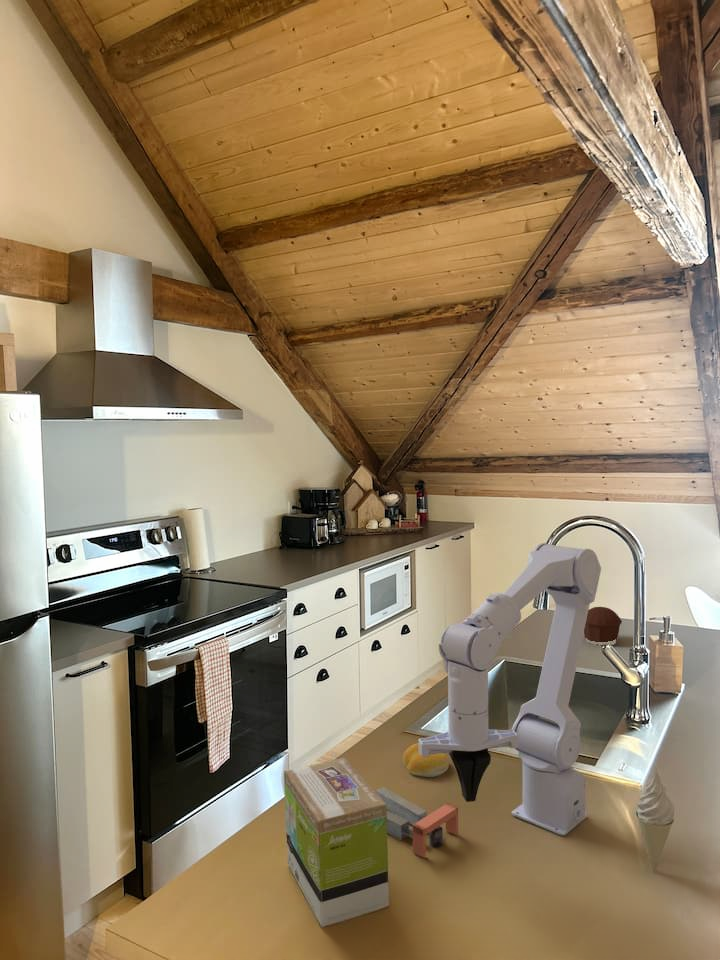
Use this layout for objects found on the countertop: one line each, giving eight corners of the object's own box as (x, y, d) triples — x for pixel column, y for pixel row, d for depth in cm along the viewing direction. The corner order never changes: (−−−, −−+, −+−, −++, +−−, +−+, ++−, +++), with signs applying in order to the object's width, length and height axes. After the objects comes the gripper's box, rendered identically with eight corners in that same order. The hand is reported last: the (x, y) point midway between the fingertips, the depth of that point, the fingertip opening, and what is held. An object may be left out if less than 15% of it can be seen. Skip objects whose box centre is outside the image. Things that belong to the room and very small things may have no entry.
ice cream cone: (670, 886, 99) (671, 780, 98) (631, 874, 102) (632, 771, 101) (676, 867, 104) (677, 765, 103) (638, 856, 106) (639, 757, 105)
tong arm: (441, 833, 113) (441, 819, 113) (433, 837, 112) (433, 823, 112) (383, 799, 124) (383, 786, 123) (375, 802, 122) (375, 790, 122)
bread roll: (414, 782, 130) (414, 760, 130) (398, 760, 139) (398, 740, 139) (457, 775, 132) (456, 754, 132) (438, 754, 141) (438, 734, 141)
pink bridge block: (458, 833, 113) (458, 807, 113) (423, 857, 107) (423, 830, 106) (448, 828, 114) (447, 802, 114) (413, 852, 108) (412, 825, 108)
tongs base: (445, 843, 110) (445, 828, 110) (429, 854, 108) (429, 839, 108) (369, 806, 122) (368, 792, 121) (352, 815, 119) (352, 801, 119)
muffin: (577, 636, 218) (577, 603, 217) (615, 636, 216) (616, 603, 216) (585, 647, 206) (586, 613, 205) (626, 648, 205) (626, 613, 204)
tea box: (284, 866, 106) (282, 768, 105) (348, 849, 110) (346, 754, 109) (320, 931, 92) (317, 818, 91) (391, 909, 96) (389, 801, 95)
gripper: (505, 693, 110) (505, 779, 111) (412, 701, 107) (413, 789, 108) (524, 711, 103) (524, 803, 104) (425, 720, 100) (426, 814, 101)
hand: (468, 798), depth 106 cm, fingers closed
